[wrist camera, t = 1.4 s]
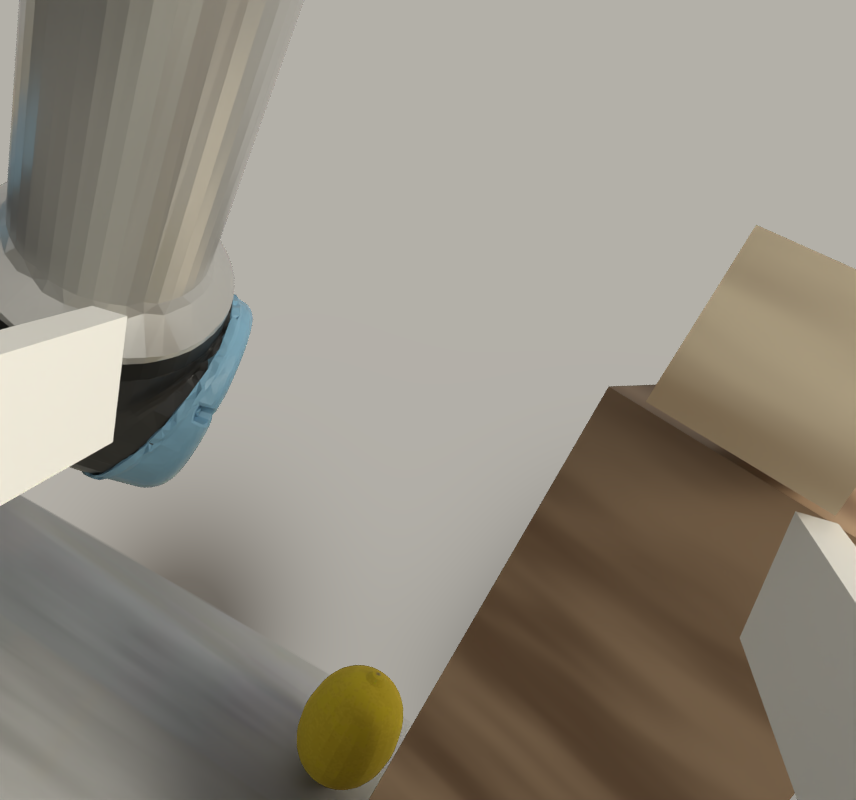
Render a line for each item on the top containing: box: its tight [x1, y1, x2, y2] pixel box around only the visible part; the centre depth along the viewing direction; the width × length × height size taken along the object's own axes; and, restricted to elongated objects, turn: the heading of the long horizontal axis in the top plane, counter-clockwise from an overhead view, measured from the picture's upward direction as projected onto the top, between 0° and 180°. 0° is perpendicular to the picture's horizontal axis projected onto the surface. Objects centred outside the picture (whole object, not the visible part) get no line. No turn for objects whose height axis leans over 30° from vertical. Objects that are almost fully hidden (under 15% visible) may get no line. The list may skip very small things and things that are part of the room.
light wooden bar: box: [646, 225, 856, 516], centre depth 22 cm, size 21×4×4 cm, turn 144°
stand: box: [369, 385, 856, 800], centre depth 29 cm, size 12×12×30 cm
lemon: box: [297, 665, 403, 790], centre depth 43 cm, size 6×6×8 cm
